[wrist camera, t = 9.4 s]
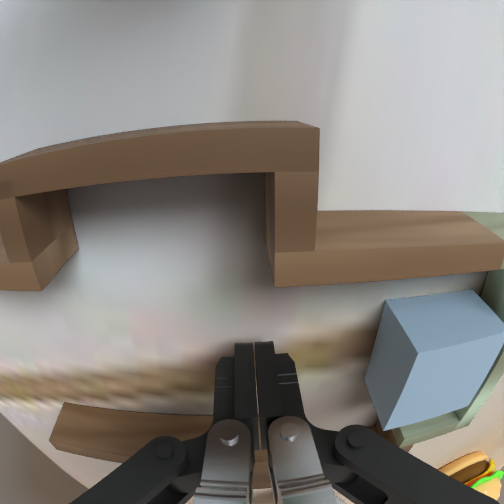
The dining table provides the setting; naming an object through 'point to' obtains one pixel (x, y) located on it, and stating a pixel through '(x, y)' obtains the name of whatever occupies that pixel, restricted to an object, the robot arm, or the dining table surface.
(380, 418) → the block
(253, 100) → the dining table surface
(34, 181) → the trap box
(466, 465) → the toy cheeseburger
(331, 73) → the dining table surface
